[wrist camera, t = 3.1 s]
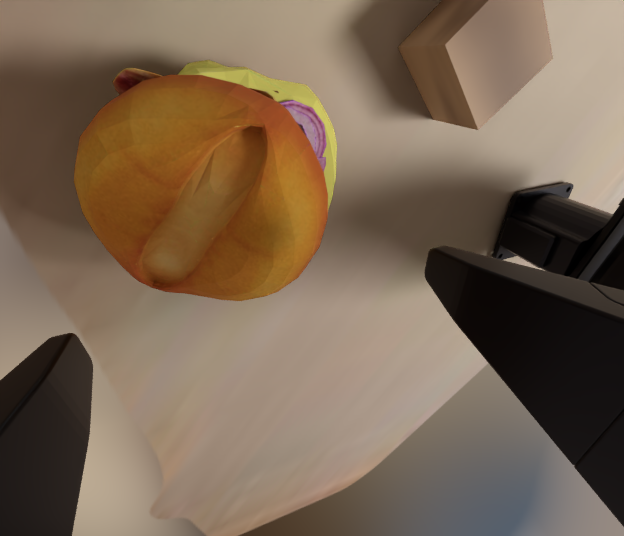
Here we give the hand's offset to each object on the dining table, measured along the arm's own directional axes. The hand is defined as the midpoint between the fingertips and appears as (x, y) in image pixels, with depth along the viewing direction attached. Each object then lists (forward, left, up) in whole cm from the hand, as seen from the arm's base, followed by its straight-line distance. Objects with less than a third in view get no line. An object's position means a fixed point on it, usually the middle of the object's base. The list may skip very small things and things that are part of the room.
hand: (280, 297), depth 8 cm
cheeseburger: (0, 0, -12) cm, 12 cm away
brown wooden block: (-14, -5, -12) cm, 19 cm away
